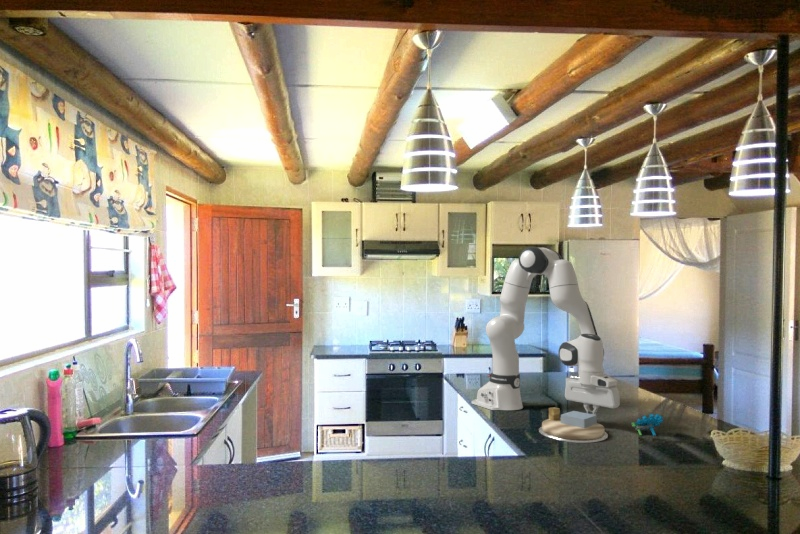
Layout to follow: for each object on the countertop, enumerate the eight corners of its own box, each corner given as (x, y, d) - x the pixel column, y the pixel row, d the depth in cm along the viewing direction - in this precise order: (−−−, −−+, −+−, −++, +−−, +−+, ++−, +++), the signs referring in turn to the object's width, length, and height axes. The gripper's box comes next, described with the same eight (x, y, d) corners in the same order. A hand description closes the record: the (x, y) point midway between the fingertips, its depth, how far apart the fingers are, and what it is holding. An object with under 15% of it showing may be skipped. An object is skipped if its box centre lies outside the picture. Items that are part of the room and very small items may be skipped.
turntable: (618, 435, 182) (618, 417, 182) (571, 442, 173) (571, 424, 173) (573, 420, 201) (573, 404, 201) (529, 427, 192) (529, 410, 192)
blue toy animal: (657, 425, 191) (664, 410, 184) (665, 440, 187) (672, 425, 180) (627, 429, 191) (633, 414, 184) (634, 444, 187) (640, 430, 180)
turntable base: (525, 432, 188) (525, 430, 188) (561, 421, 203) (561, 420, 203) (585, 447, 170) (585, 445, 171) (620, 434, 186) (620, 432, 186)
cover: (560, 423, 190) (560, 414, 190) (573, 418, 196) (573, 410, 196) (584, 428, 183) (584, 419, 183) (596, 423, 189) (596, 415, 189)
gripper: (561, 375, 201) (561, 412, 201) (613, 383, 186) (613, 423, 186) (570, 373, 206) (570, 409, 205) (621, 381, 190) (622, 420, 190)
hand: (591, 416), depth 195 cm, fingers closed
